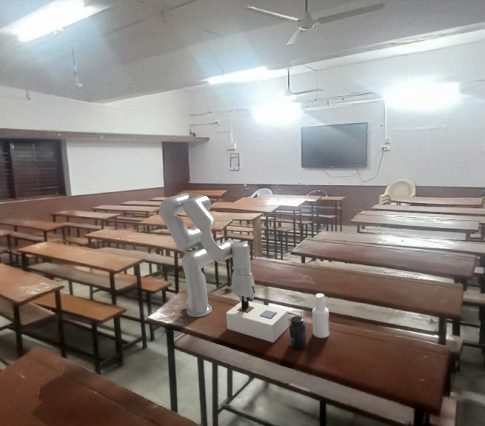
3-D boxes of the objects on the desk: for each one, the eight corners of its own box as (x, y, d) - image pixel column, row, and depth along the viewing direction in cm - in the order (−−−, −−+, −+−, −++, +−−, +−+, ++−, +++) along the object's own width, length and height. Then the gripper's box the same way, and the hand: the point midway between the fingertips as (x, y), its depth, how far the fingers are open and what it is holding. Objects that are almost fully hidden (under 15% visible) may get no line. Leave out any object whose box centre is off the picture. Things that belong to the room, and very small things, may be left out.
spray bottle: (332, 332, 158) (331, 294, 154) (324, 340, 154) (322, 300, 150) (318, 327, 163) (317, 290, 159) (310, 334, 158) (308, 296, 154)
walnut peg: (239, 322, 170) (238, 309, 168) (245, 317, 174) (244, 304, 172) (248, 324, 167) (247, 311, 165) (254, 319, 171) (253, 306, 169)
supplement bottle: (287, 348, 150) (285, 321, 148) (293, 339, 156) (291, 313, 153) (303, 351, 147) (302, 324, 144) (308, 342, 153) (307, 316, 150)
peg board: (227, 328, 168) (226, 312, 167) (244, 314, 180) (243, 299, 178) (273, 342, 155) (272, 325, 153) (288, 326, 166) (287, 310, 164)
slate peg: (261, 328, 163) (260, 315, 161) (267, 323, 167) (266, 310, 165) (271, 331, 160) (270, 317, 159) (276, 325, 164) (276, 312, 163)
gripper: (223, 270, 166) (227, 308, 170) (251, 276, 157) (254, 315, 162) (233, 265, 172) (236, 301, 176) (261, 270, 163) (263, 307, 168)
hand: (245, 307), depth 169 cm, fingers closed
